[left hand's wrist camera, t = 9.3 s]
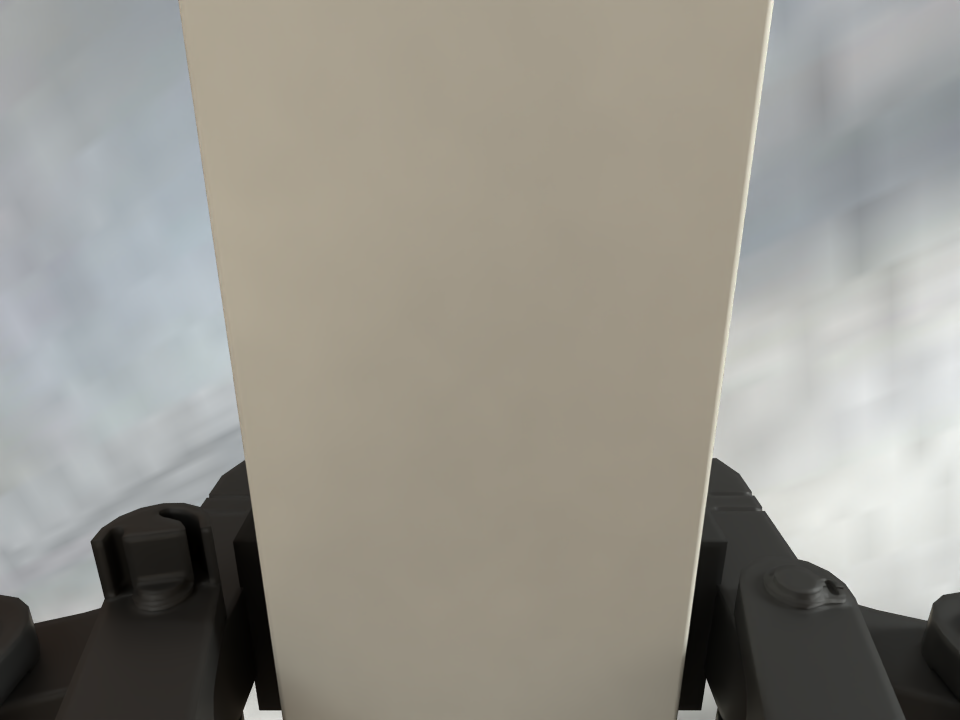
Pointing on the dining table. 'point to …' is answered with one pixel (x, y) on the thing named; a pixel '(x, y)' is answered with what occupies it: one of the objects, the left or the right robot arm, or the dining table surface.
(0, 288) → the dining table surface
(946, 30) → the dining table surface
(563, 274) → the bar
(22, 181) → the dining table surface
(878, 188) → the dining table surface
